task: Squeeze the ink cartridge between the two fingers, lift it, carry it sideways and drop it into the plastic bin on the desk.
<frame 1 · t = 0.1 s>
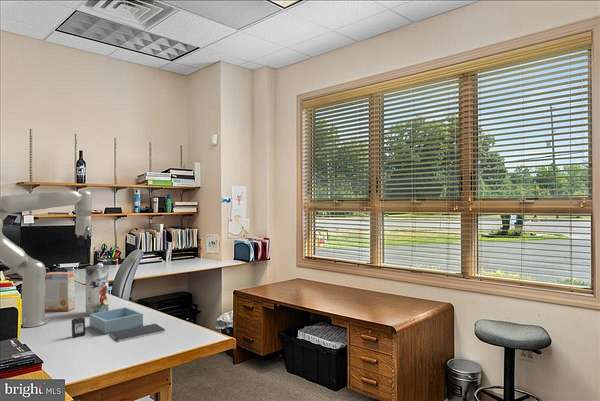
hand: (84, 245, 224), 37 cm above the table, tool pointing down, fingers open, 9 cm apart
cracker box: (59, 310, 232), on the table
ink cartridge: (78, 336, 188), on the table
juice carton: (97, 313, 225), on the table
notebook: (138, 334, 192), on the table
bin: (116, 326, 203), on the table
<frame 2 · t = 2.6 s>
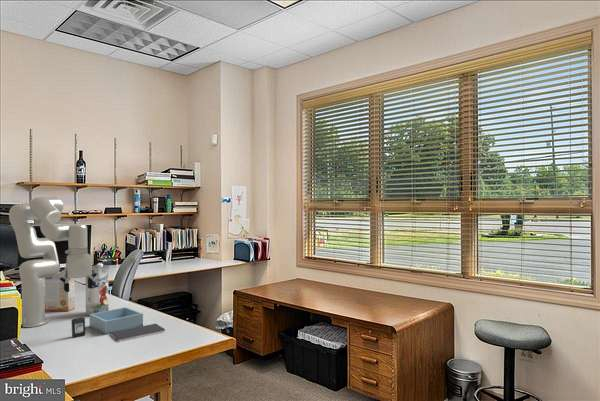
hand: (78, 289, 188), 21 cm above the table, tool pointing down, fingers open, 9 cm apart
nothing on the table moved.
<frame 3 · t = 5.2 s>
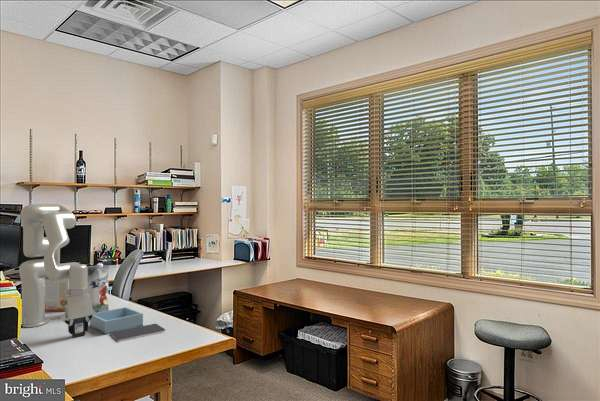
hand: (78, 331, 188), 2 cm above the table, tool pointing down, fingers closed on ink cartridge, 5 cm apart
ink cartridge: (78, 336, 188), on the table, touching gripper
everything else where it was.
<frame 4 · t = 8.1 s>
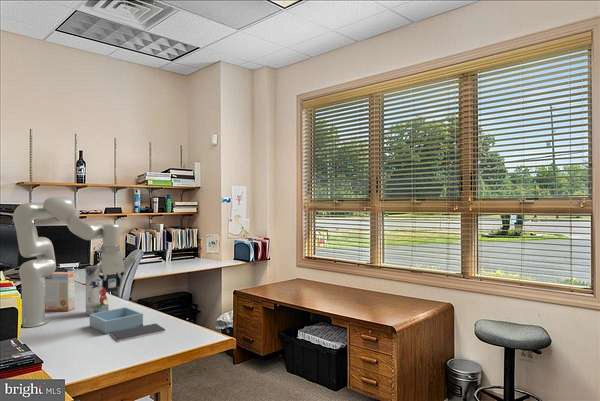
hand: (111, 286, 200), 20 cm above the table, tool pointing down, fingers closed on ink cartridge, 5 cm apart
ink cartridge: (111, 291, 200), point 17 cm above the table, touching gripper
everything else where it was.
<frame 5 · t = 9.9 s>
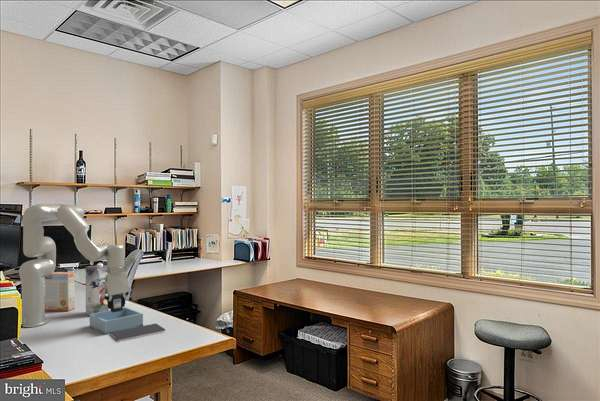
hand: (116, 307, 203), 9 cm above the table, tool pointing down, fingers closed on ink cartridge, 5 cm apart
ink cartridge: (116, 311, 202), point 7 cm above the table, touching gripper
everything else where it was.
when the fingers open (5 cm above the table, at t = 11.4 s): ink cartridge drops 2 cm, resting on bin.
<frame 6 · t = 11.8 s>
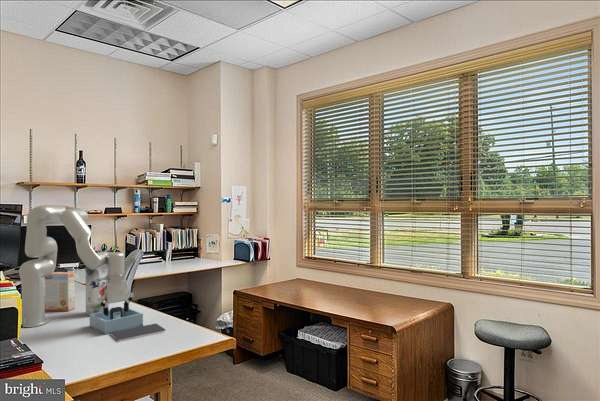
hand: (116, 313, 203), 6 cm above the table, tool pointing down, fingers open, 9 cm apart
ink cartridge: (116, 324, 203), point 1 cm above the table, touching bin
everything else where it was.
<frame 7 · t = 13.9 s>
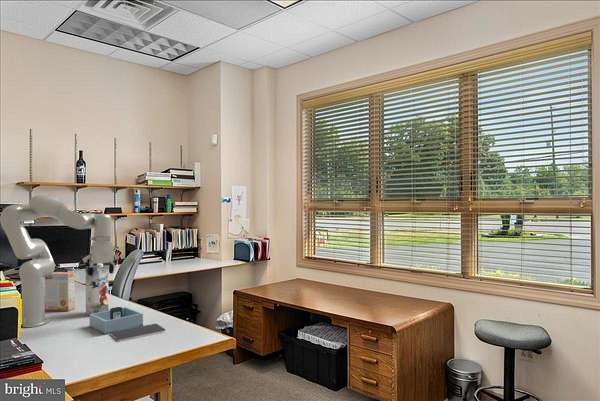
hand: (100, 274, 204), 25 cm above the table, tool pointing down, fingers open, 9 cm apart
nothing on the table moved.
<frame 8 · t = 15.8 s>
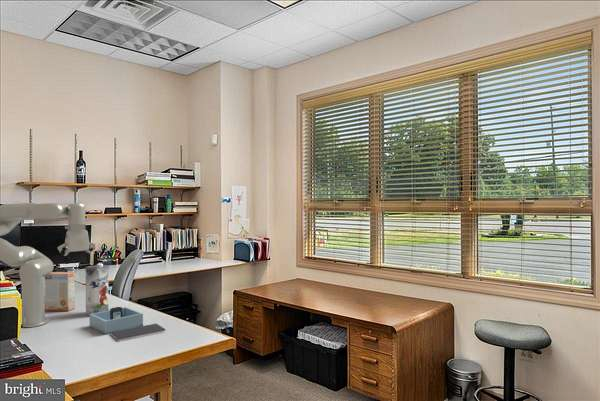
hand: (77, 262, 207), 30 cm above the table, tool pointing down, fingers open, 9 cm apart
nothing on the table moved.
at the end: ink cartridge inside the target area on the bin (0.0 cm from its centre), point 0.8 cm above the bin's base; the gripper is holding nothing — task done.
